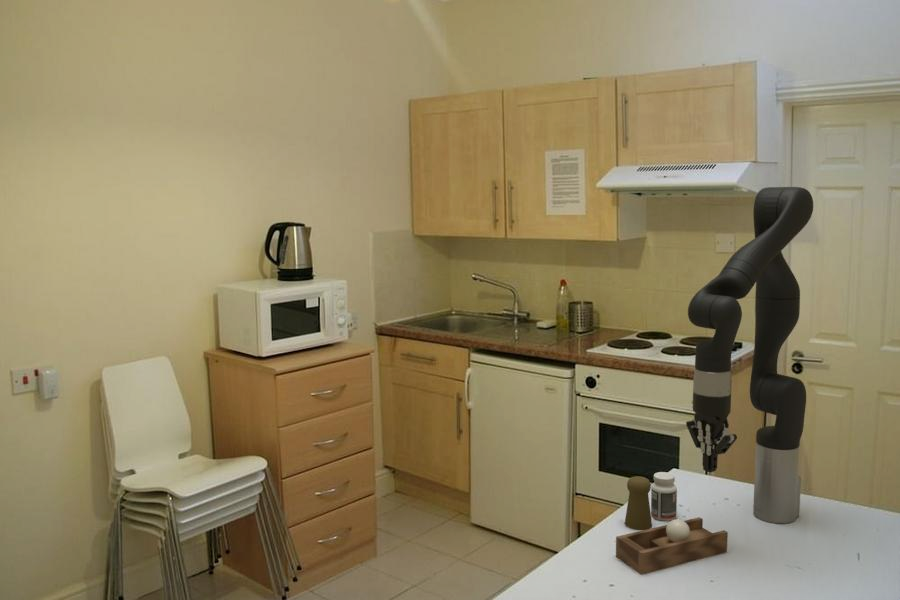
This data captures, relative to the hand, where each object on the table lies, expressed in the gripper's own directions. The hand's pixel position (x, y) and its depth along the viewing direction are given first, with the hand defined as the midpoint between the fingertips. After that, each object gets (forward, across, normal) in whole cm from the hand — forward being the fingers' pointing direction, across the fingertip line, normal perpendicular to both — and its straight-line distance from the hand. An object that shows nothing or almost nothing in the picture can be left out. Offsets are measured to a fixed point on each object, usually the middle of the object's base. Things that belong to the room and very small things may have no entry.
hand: (709, 470), depth 165 cm
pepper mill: (+17, +15, +6) cm, 23 cm away
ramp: (+17, 0, +10) cm, 19 cm away
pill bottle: (+17, +16, -2) cm, 23 cm away
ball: (+12, 0, +8) cm, 14 cm away
